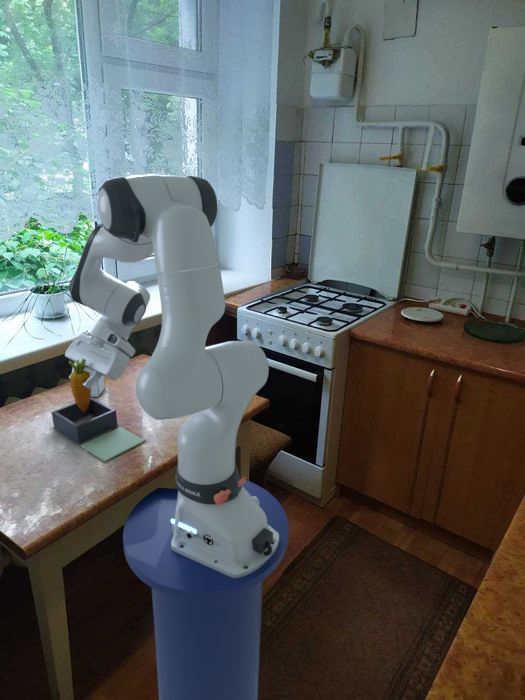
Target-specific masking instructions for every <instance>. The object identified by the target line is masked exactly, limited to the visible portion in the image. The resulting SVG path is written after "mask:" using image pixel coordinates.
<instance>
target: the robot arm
mask: <svg viewBox="0 0 525 700" xmlns="http://www.w3.org/2000/svg"><path fill="white" fill-rule="evenodd" d="M96 201H97V202H96V209H97V214H98V217H99V219H100V222H101V223H99V224H98V225H96V226H95V227H94V228H93V230H92V231H91V232H90V234H89V236H88V237H87V240H86V242H85V245H84V247H83V250H82V253H81V255H80V258H79V261H78V265H77V267H76V270H75V271H74V274H73V275H72V277H71V279H70V281H69V285H68V291H69V294H70V297H71V300H72V301H73V302H74V303H77V304H79V305H82V306H84V307H86V308H89V309H91V310H92V311H95V312H96V313H97V314H100V315H101V317H100V318H99V320H97V322H96V324H95V326H94V327H93V328H92V330H85V331H84V332H81V333H80V334H79V335H78V336H76V337H75V338H74V340H72V342H71V343H70V344H69V346H68V347H67V348H66V350H65V353H64V357H65V358H67V359H68V360H69V361H71V362H73V364H74V365H75V367H76V366H77V365H76V360H79V363H80V364H81V361H82V359H85V360H86V362H85V364H84V365H86V368H89V369H91V370H93V372H92V373H91V374H92V376H90V377H89V378H88V379H85V380H84V382H83V383H82V385H83V386H84V387H86V388H88V389H90V388H91V386H92V385H93V383H95V382H96V381H98V380H99V379H100V378H101V377H102V375H103V376H104V377H106V378H108V379H110V380H112V381H117V380H118V379H120V378H121V376H122V375H123V373H124V372H125V370H126V369H127V367H128V365H129V364H130V360H131V359H130V358H131V357H133V356H134V355H135V354H136V349H135V348H134V347H133V345H132V344H131V343H130V342H129V341H128V339H129V338H130V336H131V333H132V330H133V329H134V328H135V327H136V326H137V325H138V324H139V323H140V322H141V320H142V318H143V317H144V316H145V314H146V311H147V307H148V305H149V303H150V300H151V294H150V292H149V290H148V289H147V288H146V287H145V286H143V285H142V284H141V283H138V282H136V281H134V280H133V281H132V280H129V281H126V283H125V282H123V281H121V280H119V279H118V278H116V277H114V276H112V275H111V274H108V273H107V272H105V270H103V269H102V267H101V265H102V263H103V259H104V258H106V259H110V260H114V261H118V262H120V263H126V264H127V263H128V264H131V263H138V262H142V261H144V260H146V259H148V258H149V257H150V256H152V255H153V257H154V266H155V274H156V279H157V285H158V291H159V298H160V299H159V300H160V307H161V308H160V309H161V328H160V334H159V338H158V341H157V344H156V346H155V348H154V351H153V353H152V355H150V357H149V359H148V360H147V361H146V363H145V364H144V365H143V367H141V369H140V371H139V373H138V375H137V378H136V381H135V395H136V398H137V401H138V404H139V405H140V407H141V409H142V410H143V411H144V412H145V413H146V414H147V415H148V416H150V417H151V418H152V419H154V420H157V421H161V420H172V419H181V418H185V417H188V418H187V419H186V420H185V421H184V423H183V424H182V425H181V427H180V428H179V431H178V434H177V437H176V443H177V444H176V446H177V464H176V469H175V482H176V483H175V485H176V489H178V497H177V504H176V512H175V517H174V519H171V523H172V532H173V538H172V541H171V549H172V550H173V551H174V552H176V553H179V554H181V555H183V556H185V557H187V558H190V559H192V560H194V561H196V562H198V563H201V564H203V565H205V566H207V567H209V568H212V569H214V570H216V571H218V572H220V573H223V574H225V575H227V576H229V577H232V578H240V577H243V576H246V575H248V574H250V573H252V572H254V571H255V570H257V569H258V568H260V567H261V566H262V565H263V564H264V563H265V562H266V561H267V560H268V559H269V558H270V557H271V556H272V555H273V554H274V552H275V551H276V549H277V547H278V544H279V534H278V533H277V532H276V531H275V530H274V529H273V528H272V527H270V526H269V525H268V523H267V517H266V514H265V512H264V511H263V510H262V509H261V507H260V506H259V504H260V503H259V500H258V498H257V497H256V496H253V497H252V496H251V495H250V494H249V493H248V492H247V490H246V489H245V488H244V487H243V486H242V484H244V483H245V482H246V481H247V477H246V476H244V477H243V478H241V476H240V475H241V474H240V472H239V469H238V466H237V463H236V449H237V448H236V447H237V437H238V433H239V432H238V431H239V428H240V426H241V423H242V419H243V418H244V416H245V413H246V411H247V409H248V407H249V405H250V404H251V402H252V400H253V399H254V397H255V396H256V394H258V392H259V391H260V390H261V389H262V388H263V387H264V386H265V385H266V383H267V382H268V381H267V380H268V378H269V372H270V366H269V362H268V361H269V360H268V358H267V356H266V353H265V352H264V350H263V348H262V347H260V346H259V345H258V344H257V343H256V342H254V341H249V340H230V341H225V342H220V343H216V344H211V345H208V346H206V345H207V344H206V342H207V338H208V335H209V334H210V331H211V329H212V327H213V326H214V325H215V324H216V323H217V322H219V321H220V319H222V317H223V315H224V313H225V310H226V297H225V292H224V285H223V278H222V272H221V266H220V265H221V264H220V259H219V254H218V249H217V245H216V241H215V238H214V235H213V231H212V227H213V225H214V223H215V222H216V219H217V215H218V206H219V204H218V198H217V194H216V191H215V189H214V188H213V185H211V182H209V181H208V180H207V179H205V178H202V177H199V176H195V175H187V176H180V175H179V176H178V175H162V174H157V173H155V174H141V175H140V174H133V175H129V176H126V177H124V176H122V175H121V176H116V177H112V178H109V179H106V180H104V181H103V182H102V183H101V184H100V187H99V189H98V192H97V200H96ZM73 372H75V370H74V368H73V367H72V369H71V373H70V375H68V379H69V380H70V376H71V375H72V373H73ZM244 480H245V481H244ZM182 547H183V548H182ZM245 568H247V569H245Z"/></svg>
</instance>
